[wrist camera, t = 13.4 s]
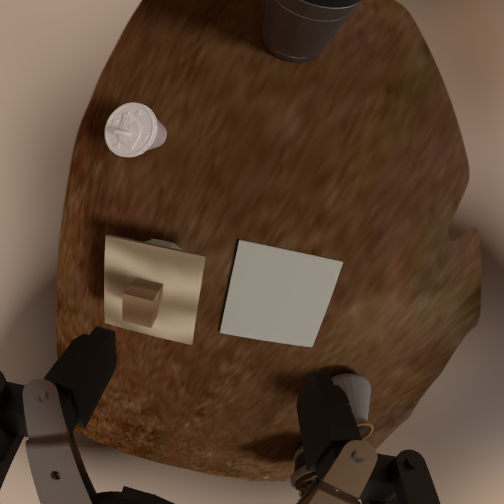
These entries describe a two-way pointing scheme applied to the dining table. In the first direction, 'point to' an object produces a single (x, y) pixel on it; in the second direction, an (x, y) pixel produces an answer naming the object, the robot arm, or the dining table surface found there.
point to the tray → (278, 294)
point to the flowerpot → (301, 472)
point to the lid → (152, 288)
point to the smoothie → (133, 130)
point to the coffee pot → (357, 400)
